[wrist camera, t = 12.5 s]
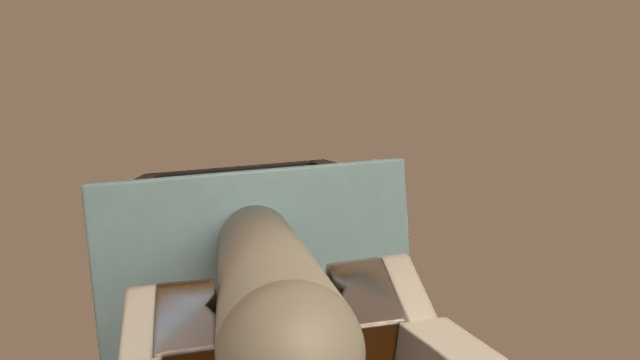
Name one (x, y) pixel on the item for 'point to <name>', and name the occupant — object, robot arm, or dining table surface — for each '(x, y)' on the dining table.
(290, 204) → the tray
